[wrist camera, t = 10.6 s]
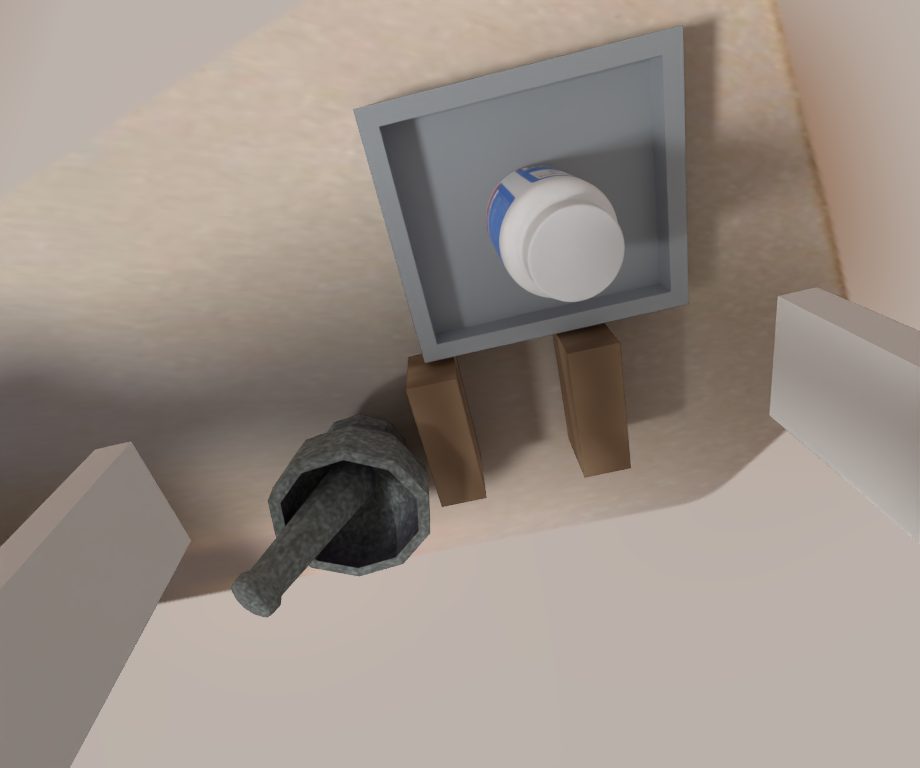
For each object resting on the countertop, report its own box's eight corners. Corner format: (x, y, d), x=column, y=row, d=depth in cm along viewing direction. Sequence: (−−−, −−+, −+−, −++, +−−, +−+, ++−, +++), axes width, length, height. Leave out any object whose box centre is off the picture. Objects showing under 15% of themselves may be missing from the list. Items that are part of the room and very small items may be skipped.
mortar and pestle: (404, 376, 35) (392, 491, 25) (450, 481, 39) (457, 618, 29) (252, 425, 36) (177, 555, 26) (312, 522, 41) (269, 669, 30)
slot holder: (440, 466, 39) (441, 506, 35) (408, 357, 35) (405, 389, 31) (609, 430, 38) (630, 468, 34) (597, 315, 34) (619, 342, 30)
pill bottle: (522, 280, 32) (555, 344, 23) (465, 208, 30) (479, 249, 21) (598, 220, 30) (665, 264, 22) (545, 140, 28) (595, 154, 20)
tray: (425, 346, 34) (424, 363, 32) (359, 109, 28) (353, 109, 26) (671, 290, 33) (688, 304, 31) (662, 31, 27) (682, 25, 25)
